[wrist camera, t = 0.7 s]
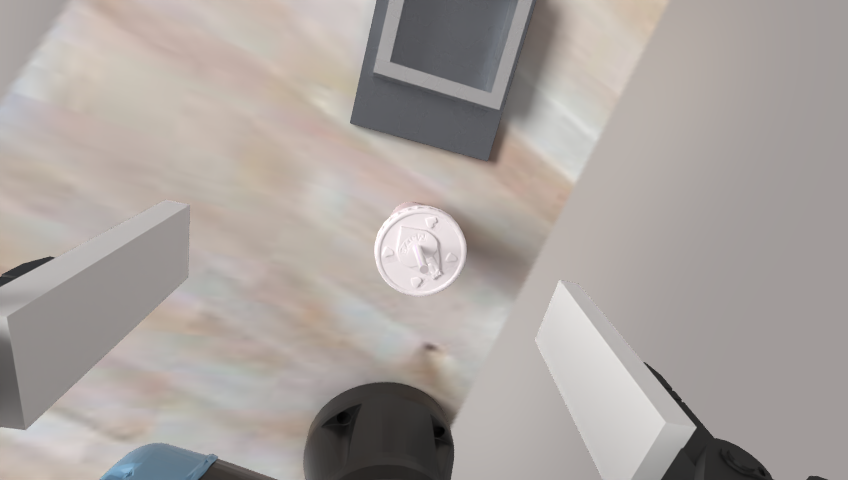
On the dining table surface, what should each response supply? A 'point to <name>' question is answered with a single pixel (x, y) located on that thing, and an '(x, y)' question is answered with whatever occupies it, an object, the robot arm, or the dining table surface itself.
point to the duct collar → (441, 70)
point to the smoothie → (420, 250)
